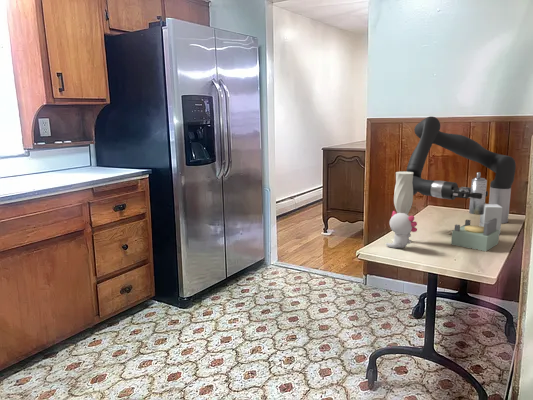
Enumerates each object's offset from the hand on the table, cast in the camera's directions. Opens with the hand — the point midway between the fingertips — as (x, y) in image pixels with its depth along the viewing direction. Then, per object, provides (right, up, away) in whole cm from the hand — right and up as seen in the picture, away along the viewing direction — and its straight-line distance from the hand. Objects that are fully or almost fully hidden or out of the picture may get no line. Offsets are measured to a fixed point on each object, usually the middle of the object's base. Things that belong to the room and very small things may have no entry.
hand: (484, 195), depth 181 cm
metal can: (-2, -7, +3) cm, 8 cm away
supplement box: (+14, -17, +23) cm, 32 cm away
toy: (-34, -22, +2) cm, 40 cm away
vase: (-30, -20, +12) cm, 38 cm away
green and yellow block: (-1, -21, +6) cm, 22 cm away
